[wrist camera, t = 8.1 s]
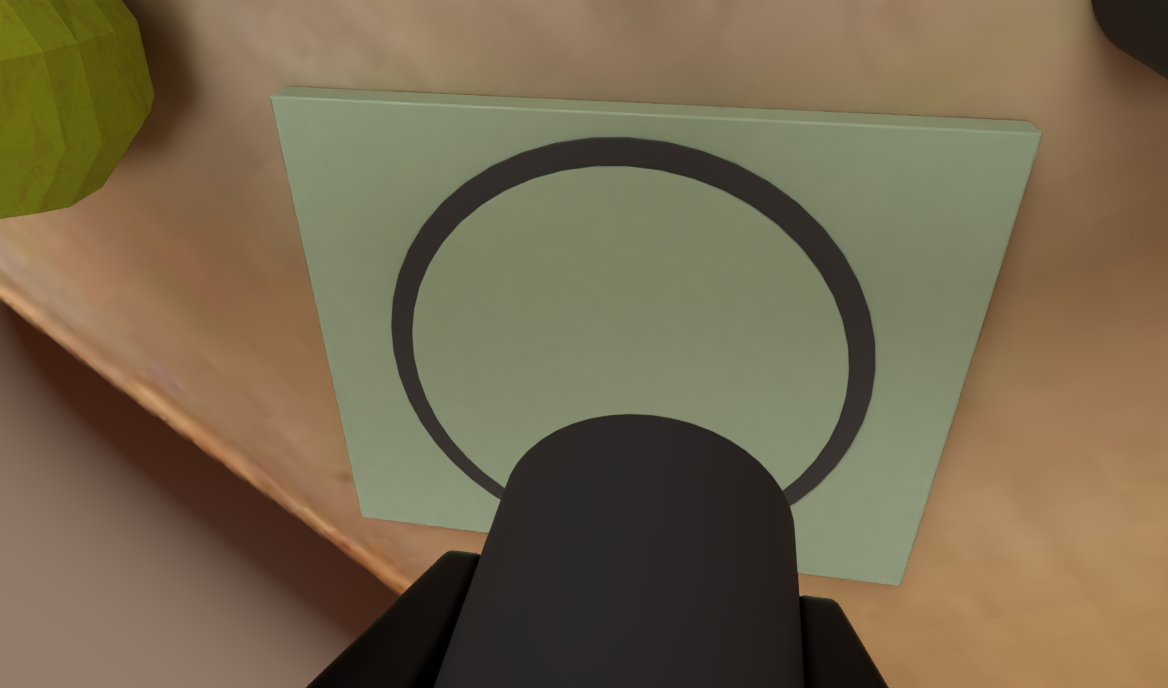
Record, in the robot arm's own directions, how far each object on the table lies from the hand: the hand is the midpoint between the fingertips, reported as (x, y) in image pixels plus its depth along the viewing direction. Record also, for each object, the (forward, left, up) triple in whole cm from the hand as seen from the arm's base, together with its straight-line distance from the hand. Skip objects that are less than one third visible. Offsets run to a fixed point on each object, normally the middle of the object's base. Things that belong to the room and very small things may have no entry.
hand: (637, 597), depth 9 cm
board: (+1, +4, -11) cm, 12 cm away
